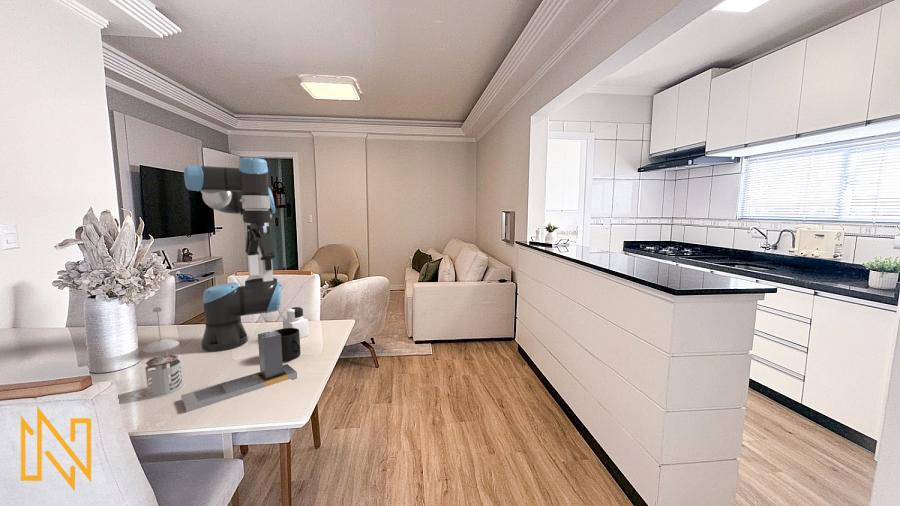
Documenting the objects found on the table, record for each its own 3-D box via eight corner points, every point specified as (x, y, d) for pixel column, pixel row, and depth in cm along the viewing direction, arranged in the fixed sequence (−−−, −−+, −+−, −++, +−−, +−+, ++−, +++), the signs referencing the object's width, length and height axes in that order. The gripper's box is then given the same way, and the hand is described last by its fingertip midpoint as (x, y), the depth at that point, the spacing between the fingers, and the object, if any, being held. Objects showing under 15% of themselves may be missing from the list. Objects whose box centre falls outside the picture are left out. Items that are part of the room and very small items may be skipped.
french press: (137, 403, 96) (127, 314, 93) (153, 384, 106) (144, 303, 103) (181, 396, 100) (173, 309, 96) (192, 378, 110) (185, 299, 107)
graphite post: (260, 378, 109) (257, 334, 107) (277, 372, 112) (275, 330, 111) (266, 383, 105) (263, 338, 104) (283, 378, 109) (280, 334, 107)
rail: (181, 402, 96) (180, 395, 96) (287, 369, 116) (287, 363, 116) (186, 414, 91) (185, 406, 91) (297, 377, 110) (296, 371, 110)
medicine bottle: (299, 332, 151) (298, 305, 150) (309, 335, 147) (307, 307, 146) (283, 337, 145) (281, 308, 144) (293, 341, 141) (291, 311, 140)
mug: (288, 365, 119) (287, 339, 118) (265, 358, 124) (263, 334, 123) (311, 355, 127) (310, 331, 126) (288, 349, 133) (287, 326, 132)
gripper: (231, 209, 115) (236, 274, 118) (255, 210, 97) (260, 285, 100) (257, 209, 120) (261, 271, 123) (284, 209, 103) (288, 281, 105)
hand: (261, 277), depth 112 cm, fingers open, 13 cm apart
